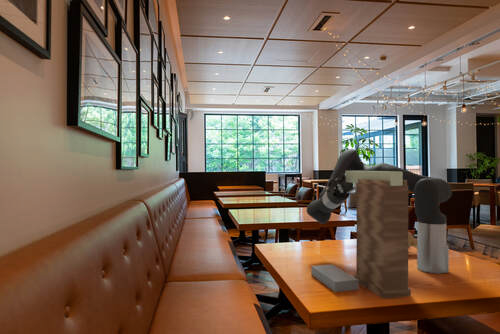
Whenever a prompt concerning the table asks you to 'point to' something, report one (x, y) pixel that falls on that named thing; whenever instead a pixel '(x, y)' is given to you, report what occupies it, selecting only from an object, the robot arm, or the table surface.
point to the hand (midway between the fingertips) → (355, 176)
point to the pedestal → (382, 238)
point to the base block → (334, 278)
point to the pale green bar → (376, 176)
